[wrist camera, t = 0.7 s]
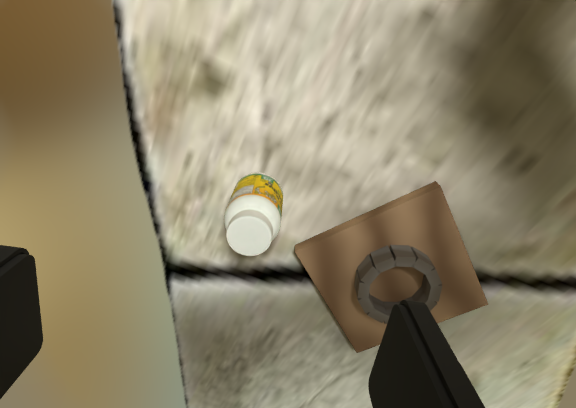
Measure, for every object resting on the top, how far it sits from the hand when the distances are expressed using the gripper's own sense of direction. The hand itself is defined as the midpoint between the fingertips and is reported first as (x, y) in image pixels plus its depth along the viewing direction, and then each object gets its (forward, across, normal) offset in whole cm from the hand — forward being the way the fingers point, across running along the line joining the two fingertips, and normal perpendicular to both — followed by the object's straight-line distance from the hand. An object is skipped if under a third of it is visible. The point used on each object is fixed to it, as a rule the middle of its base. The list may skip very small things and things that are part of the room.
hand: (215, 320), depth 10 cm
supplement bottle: (+31, 0, +8) cm, 32 cm away
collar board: (+30, -17, +15) cm, 38 cm away
